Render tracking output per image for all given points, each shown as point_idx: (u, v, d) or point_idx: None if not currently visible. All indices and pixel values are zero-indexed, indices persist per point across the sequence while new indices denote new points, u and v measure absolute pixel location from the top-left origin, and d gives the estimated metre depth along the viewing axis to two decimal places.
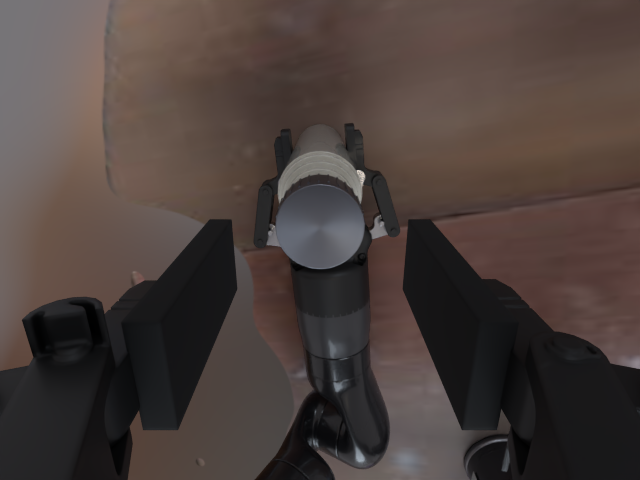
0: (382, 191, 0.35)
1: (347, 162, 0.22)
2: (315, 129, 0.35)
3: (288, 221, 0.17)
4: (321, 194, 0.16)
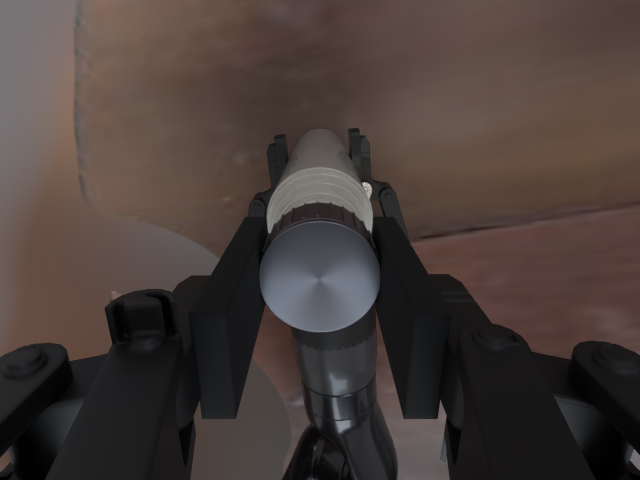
0: (391, 206, 0.30)
1: (354, 181, 0.17)
2: (314, 135, 0.30)
3: (276, 270, 0.12)
4: (321, 234, 0.12)
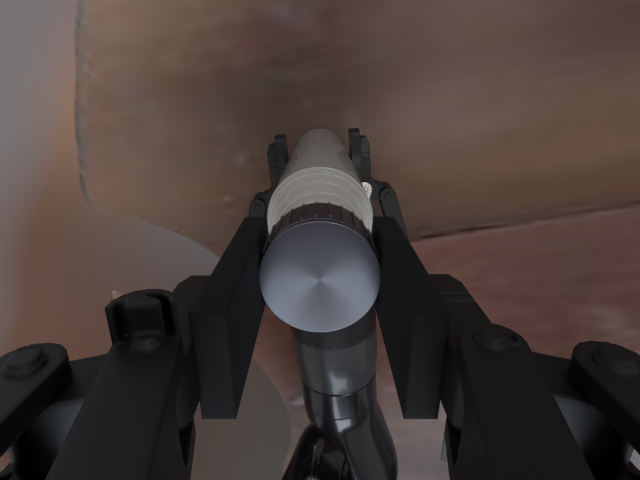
0: (391, 206, 0.30)
1: (354, 180, 0.17)
2: (314, 135, 0.30)
3: (302, 315, 0.13)
4: (272, 270, 0.12)
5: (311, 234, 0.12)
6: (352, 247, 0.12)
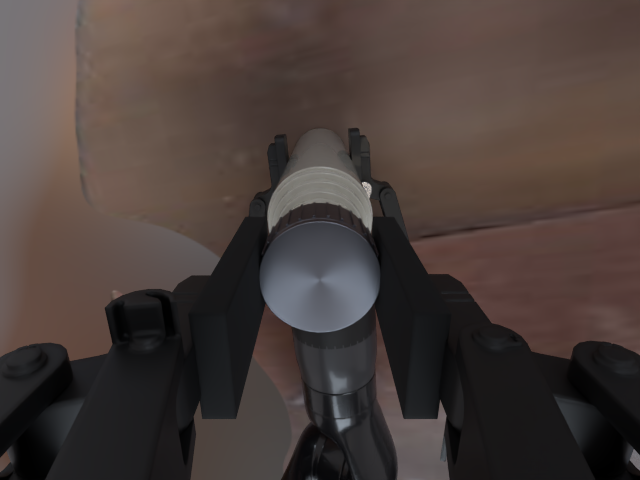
0: (391, 206, 0.30)
1: (354, 180, 0.17)
2: (314, 135, 0.30)
3: (355, 302, 0.13)
4: (301, 318, 0.13)
5: (270, 279, 0.12)
6: (290, 245, 0.12)
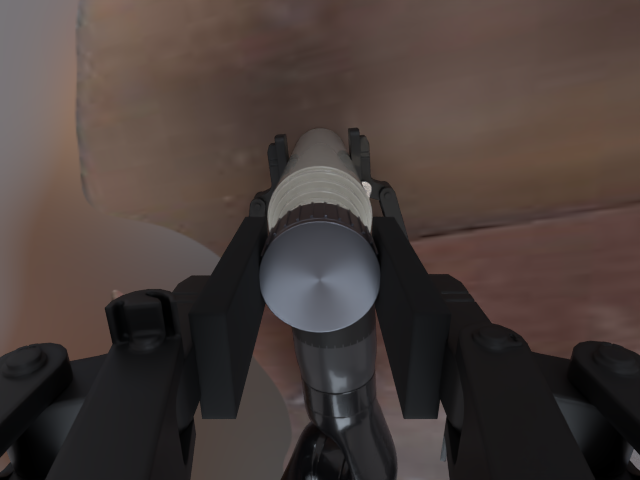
0: (391, 205, 0.30)
1: (354, 180, 0.18)
2: (314, 134, 0.30)
3: (352, 251, 0.12)
4: (358, 304, 0.13)
5: (309, 321, 0.13)
6: (278, 298, 0.12)
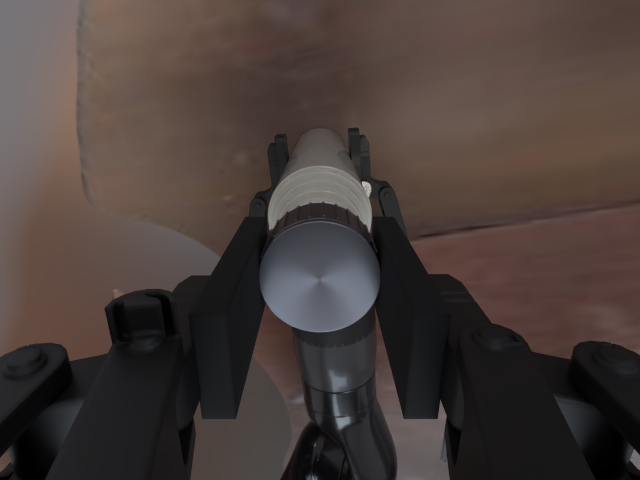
0: (391, 205, 0.30)
1: (353, 179, 0.18)
2: (314, 134, 0.30)
3: (294, 245, 0.12)
4: (355, 249, 0.12)
5: (364, 297, 0.12)
6: (331, 319, 0.13)
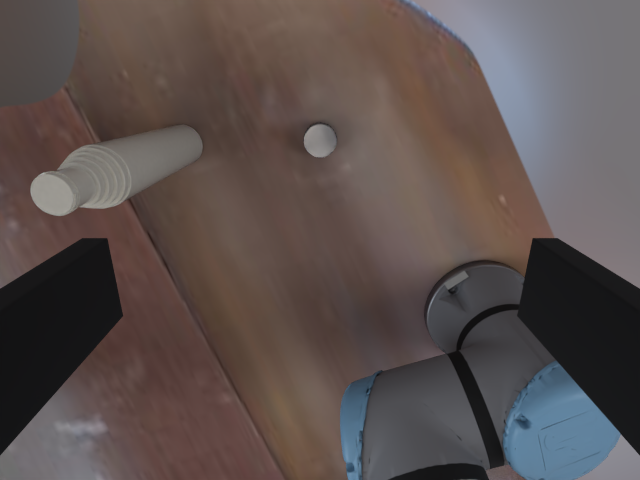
0: None
1: (128, 192, 0.30)
2: (185, 143, 0.43)
3: (309, 145, 0.46)
4: (313, 130, 0.46)
5: (327, 129, 0.46)
6: (332, 140, 0.46)
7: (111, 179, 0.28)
